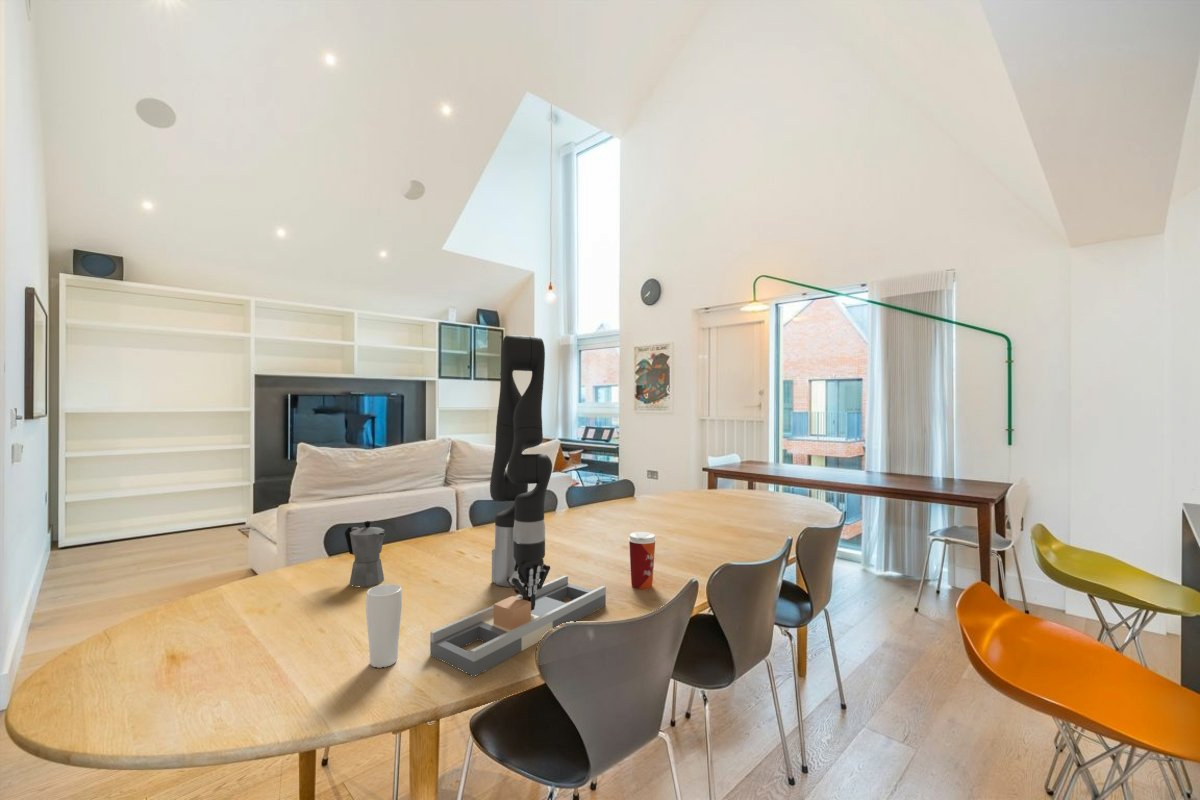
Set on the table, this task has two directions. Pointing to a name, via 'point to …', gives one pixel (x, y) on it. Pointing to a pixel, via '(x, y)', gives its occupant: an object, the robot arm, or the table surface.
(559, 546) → the table surface
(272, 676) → the table surface
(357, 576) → the coffeepot
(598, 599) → the track
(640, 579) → the coffee cup
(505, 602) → the block
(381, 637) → the drinking glass
